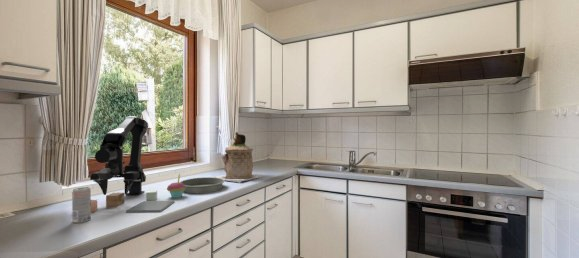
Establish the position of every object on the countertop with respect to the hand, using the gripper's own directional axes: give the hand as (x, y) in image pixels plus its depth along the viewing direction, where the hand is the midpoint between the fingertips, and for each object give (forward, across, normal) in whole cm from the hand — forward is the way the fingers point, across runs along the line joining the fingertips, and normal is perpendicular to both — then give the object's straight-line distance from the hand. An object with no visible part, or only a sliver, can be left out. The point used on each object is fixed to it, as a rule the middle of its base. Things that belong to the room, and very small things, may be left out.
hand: (115, 194), depth 117 cm
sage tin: (+5, +12, +8) cm, 15 cm away
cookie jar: (+5, +46, +59) cm, 75 cm away
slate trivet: (+5, +18, -4) cm, 19 cm away
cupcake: (+5, +22, +13) cm, 26 cm away
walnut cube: (+5, 0, 0) cm, 5 cm away
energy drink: (+5, 0, -20) cm, 21 cm away
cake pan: (+5, +30, +30) cm, 43 cm away
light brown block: (+5, -6, -9) cm, 12 cm away
